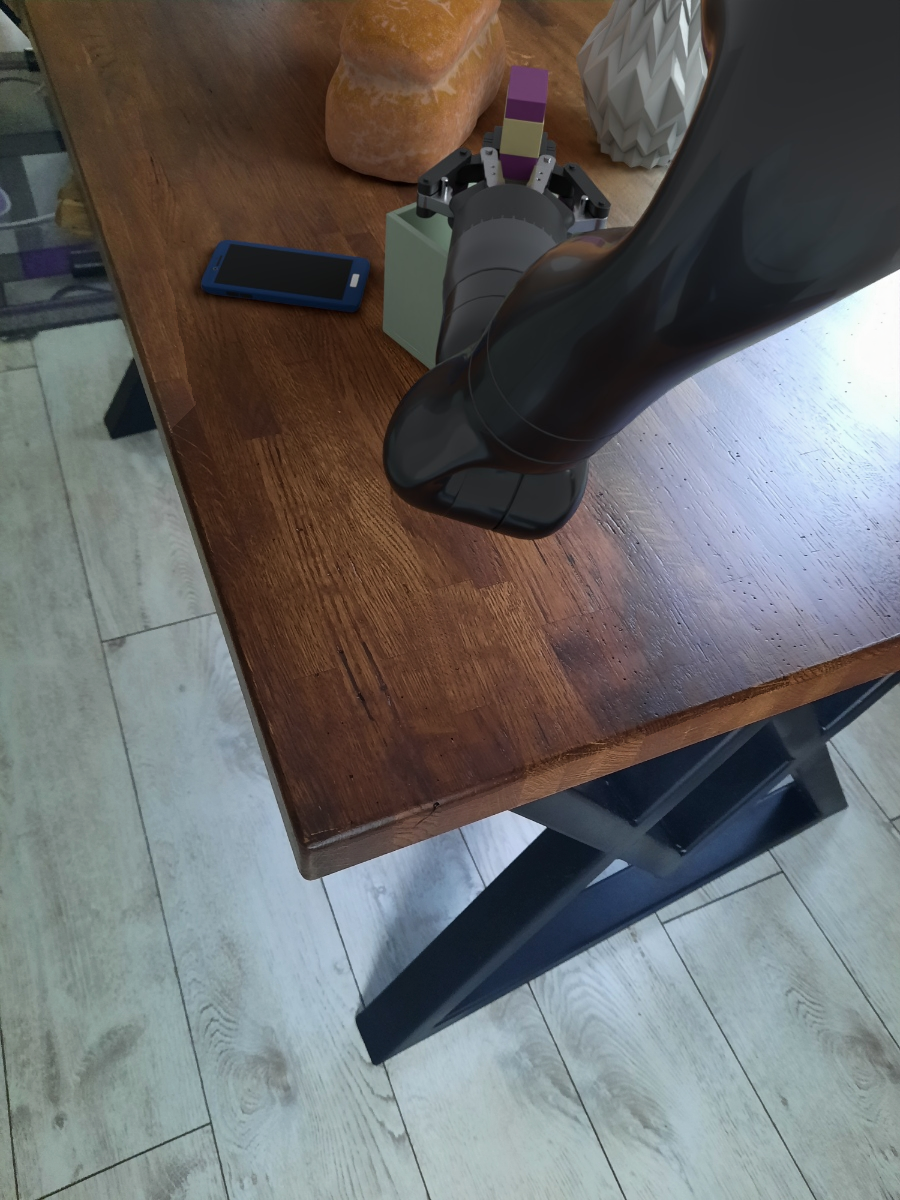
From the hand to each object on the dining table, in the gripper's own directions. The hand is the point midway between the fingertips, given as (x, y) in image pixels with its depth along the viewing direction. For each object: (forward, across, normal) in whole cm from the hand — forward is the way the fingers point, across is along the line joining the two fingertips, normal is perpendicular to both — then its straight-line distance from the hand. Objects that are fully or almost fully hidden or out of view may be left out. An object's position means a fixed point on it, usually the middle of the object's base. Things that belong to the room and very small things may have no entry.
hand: (518, 142), depth 69 cm
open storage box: (-3, 0, +16) cm, 16 cm away
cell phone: (+2, +19, +16) cm, 25 cm away
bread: (+33, +10, +16) cm, 38 cm away
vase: (+34, -14, +16) cm, 40 cm away
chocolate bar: (-3, 0, +7) cm, 7 cm away
